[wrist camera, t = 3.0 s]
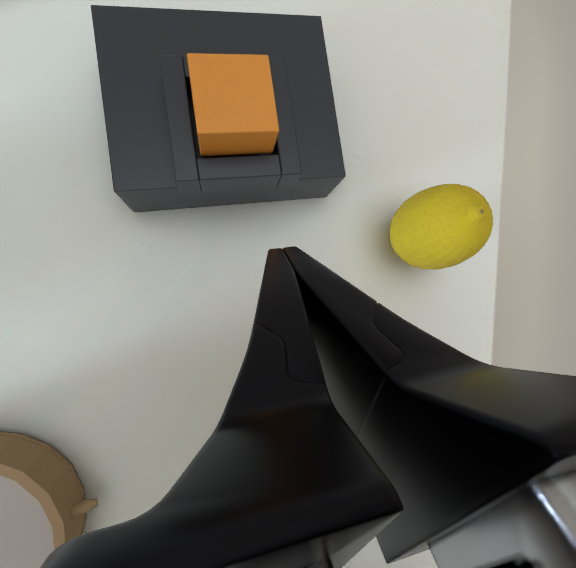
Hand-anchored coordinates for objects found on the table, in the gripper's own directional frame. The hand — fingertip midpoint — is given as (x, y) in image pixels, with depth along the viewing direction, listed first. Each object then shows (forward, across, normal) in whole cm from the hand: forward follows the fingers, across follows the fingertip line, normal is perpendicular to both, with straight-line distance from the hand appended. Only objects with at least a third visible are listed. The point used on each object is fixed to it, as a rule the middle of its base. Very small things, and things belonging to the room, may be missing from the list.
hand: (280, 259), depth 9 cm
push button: (+18, 0, +1) cm, 18 cm away
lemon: (+11, -13, +8) cm, 19 cm away
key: (+12, 0, -1) cm, 12 cm away
